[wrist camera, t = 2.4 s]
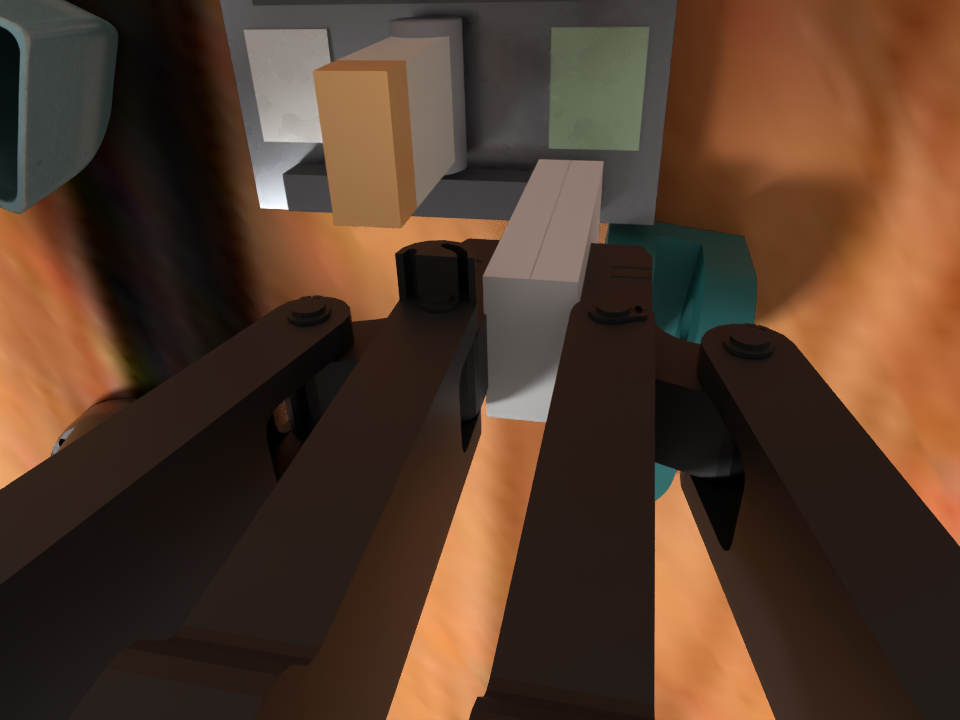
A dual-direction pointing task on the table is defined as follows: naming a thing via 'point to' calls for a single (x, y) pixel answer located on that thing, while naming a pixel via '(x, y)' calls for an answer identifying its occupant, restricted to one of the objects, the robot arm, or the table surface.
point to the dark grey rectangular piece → (454, 192)
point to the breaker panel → (478, 85)
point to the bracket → (692, 285)
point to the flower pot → (51, 95)
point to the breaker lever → (393, 121)
